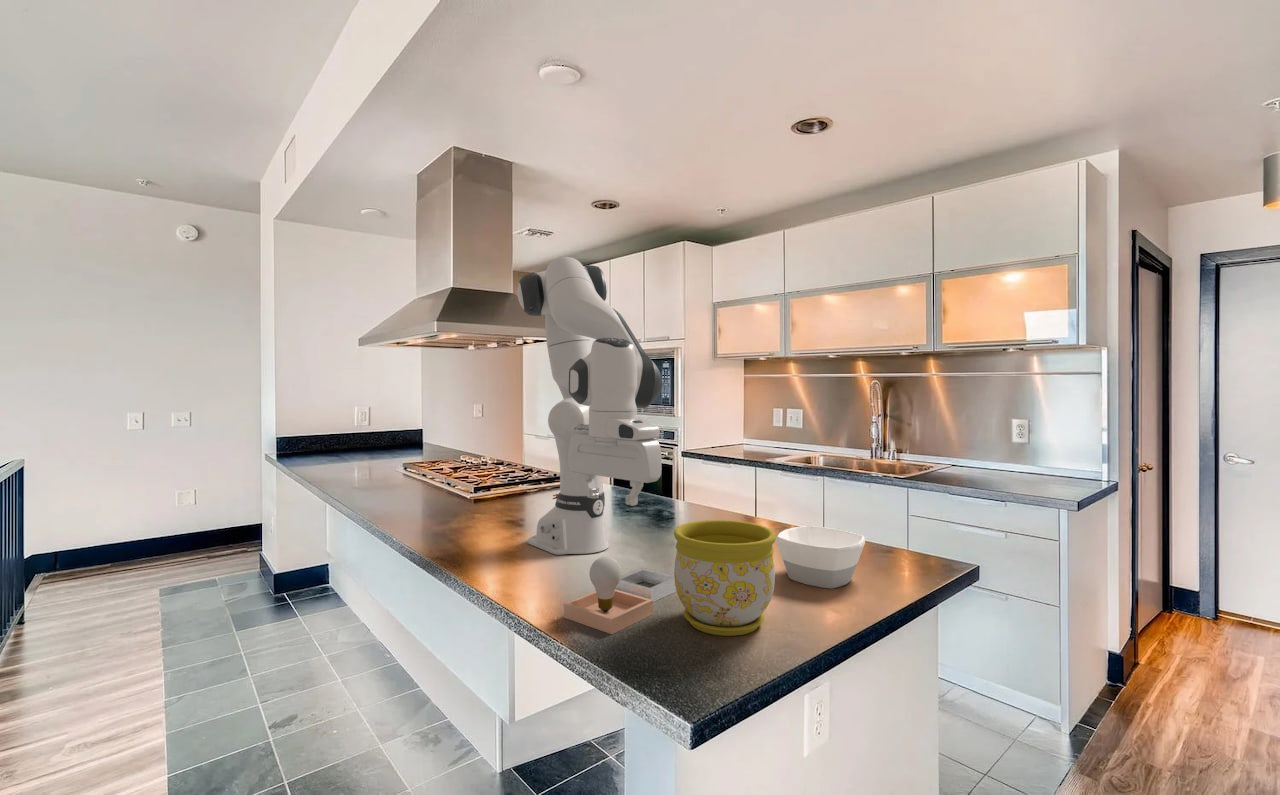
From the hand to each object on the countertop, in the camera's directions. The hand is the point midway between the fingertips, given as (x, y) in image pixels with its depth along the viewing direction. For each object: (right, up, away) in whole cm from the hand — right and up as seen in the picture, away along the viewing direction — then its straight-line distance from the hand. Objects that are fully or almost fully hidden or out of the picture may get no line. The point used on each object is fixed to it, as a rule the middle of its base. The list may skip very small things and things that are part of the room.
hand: (611, 501), depth 111 cm
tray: (0, -21, 0) cm, 21 cm away
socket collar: (+7, -21, +13) cm, 25 cm away
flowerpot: (+20, -21, -3) cm, 30 cm away
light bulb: (-1, -21, 0) cm, 21 cm away
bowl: (+45, -21, +21) cm, 54 cm away
